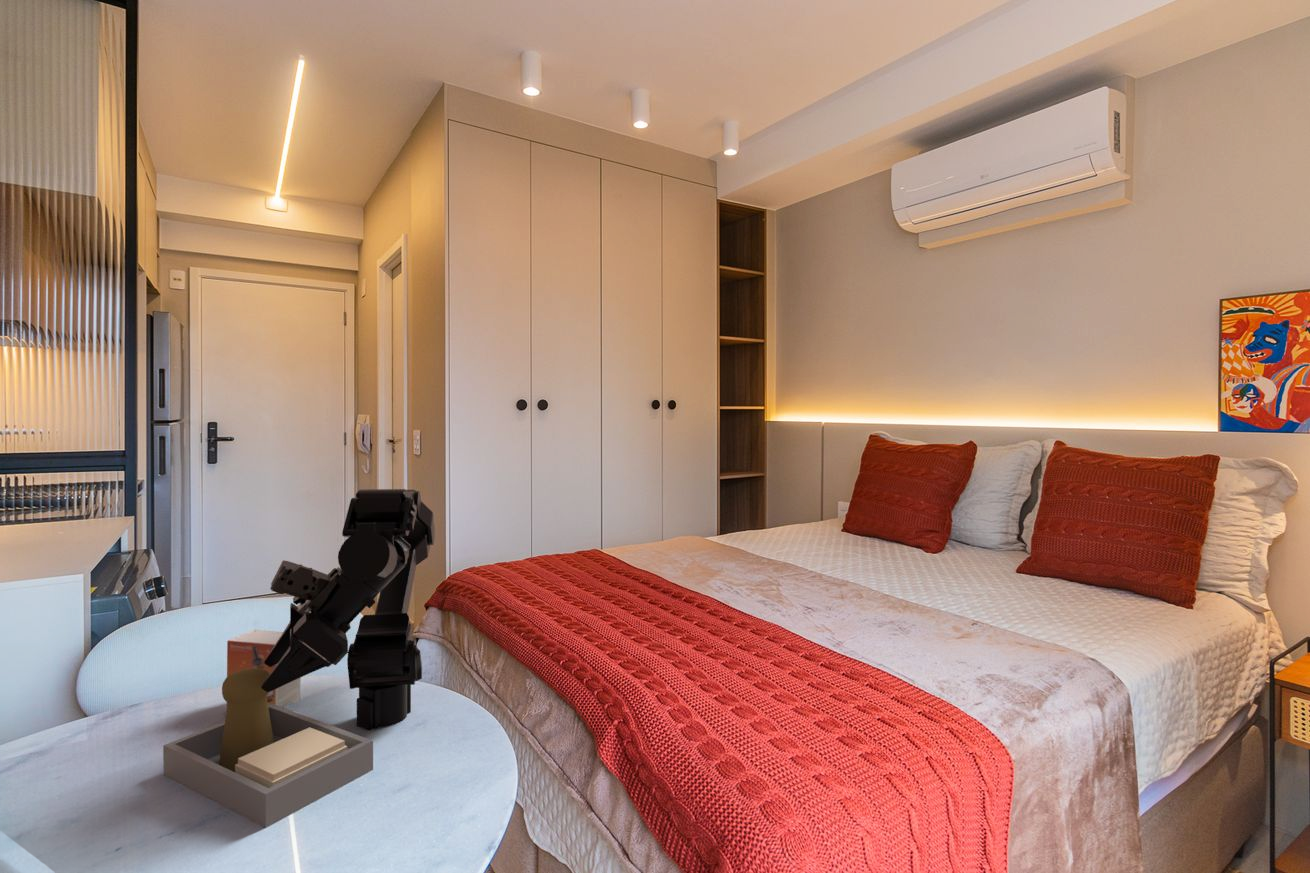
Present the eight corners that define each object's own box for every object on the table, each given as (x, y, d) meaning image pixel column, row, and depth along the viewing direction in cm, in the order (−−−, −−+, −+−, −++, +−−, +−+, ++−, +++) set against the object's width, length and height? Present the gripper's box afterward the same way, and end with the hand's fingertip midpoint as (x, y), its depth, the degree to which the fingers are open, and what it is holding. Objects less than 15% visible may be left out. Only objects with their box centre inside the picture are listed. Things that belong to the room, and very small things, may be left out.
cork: (249, 776, 78) (249, 683, 78) (205, 770, 80) (204, 679, 79) (287, 751, 84) (287, 664, 84) (246, 745, 85) (245, 660, 85)
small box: (225, 712, 97) (225, 640, 97) (254, 696, 103) (254, 628, 102) (275, 717, 96) (275, 644, 95) (301, 700, 101) (301, 631, 101)
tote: (272, 736, 90) (272, 703, 90) (373, 777, 80) (373, 740, 80) (163, 782, 79) (163, 745, 78) (265, 837, 69) (265, 794, 69)
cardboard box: (310, 757, 83) (310, 726, 83) (347, 772, 80) (347, 740, 79) (235, 793, 75) (235, 758, 75) (273, 811, 72) (272, 775, 72)
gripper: (311, 528, 93) (217, 617, 88) (316, 550, 77) (200, 662, 72) (373, 578, 97) (286, 667, 92) (389, 610, 81) (285, 720, 76)
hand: (265, 676), depth 83 cm, fingers open, 9 cm apart
